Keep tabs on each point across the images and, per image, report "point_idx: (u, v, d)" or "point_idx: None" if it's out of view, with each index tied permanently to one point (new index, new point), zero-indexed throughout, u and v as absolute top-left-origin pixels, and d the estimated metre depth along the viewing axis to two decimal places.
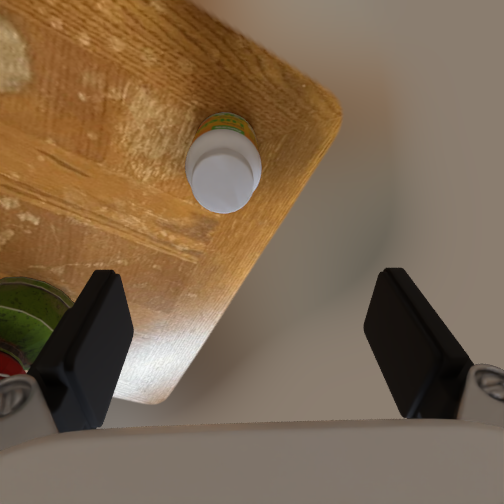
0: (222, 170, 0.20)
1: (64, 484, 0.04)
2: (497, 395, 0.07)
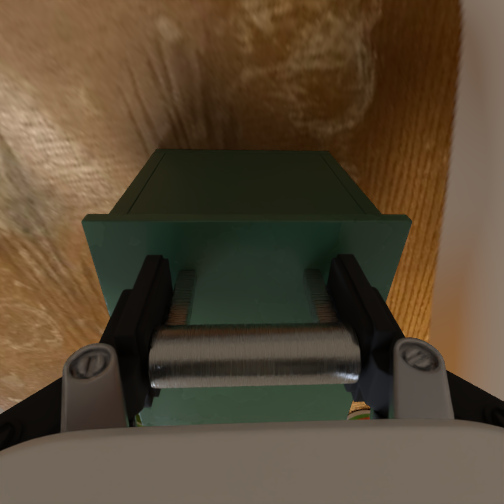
0: None
1: (64, 484, 0.04)
2: (420, 365, 0.08)
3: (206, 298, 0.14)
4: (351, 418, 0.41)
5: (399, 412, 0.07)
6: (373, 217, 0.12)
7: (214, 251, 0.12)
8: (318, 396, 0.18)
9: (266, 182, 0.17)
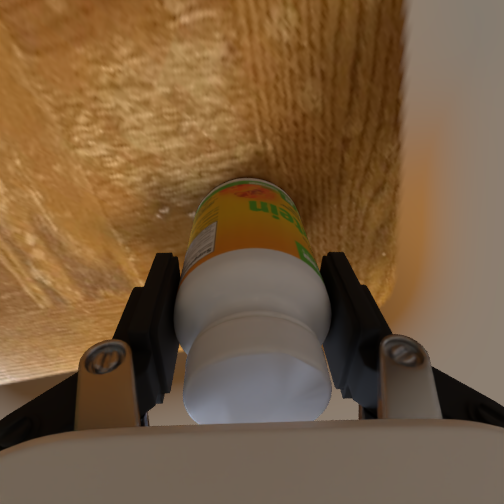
0: (288, 386, 0.08)
1: (64, 484, 0.04)
2: (406, 361, 0.08)
3: None
4: (205, 198, 0.15)
5: (382, 407, 0.07)
6: None
7: None
8: None
9: None
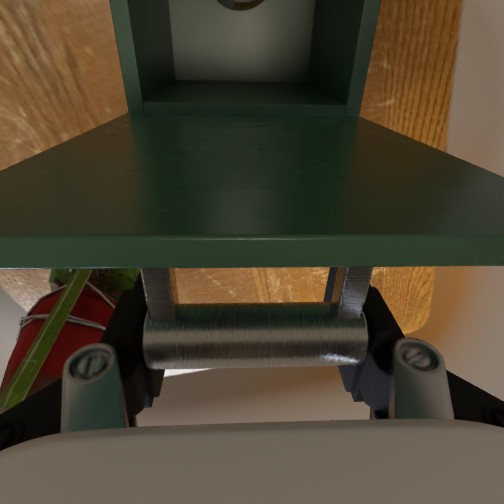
0: None
1: (64, 484, 0.04)
2: (420, 365, 0.08)
3: None
4: None
5: (399, 412, 0.07)
6: None
7: None
8: None
9: None
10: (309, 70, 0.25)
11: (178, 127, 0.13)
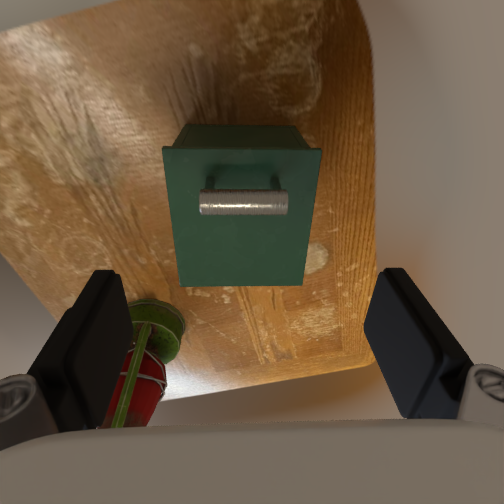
0: None
1: (64, 484, 0.04)
2: (496, 395, 0.07)
3: None
4: None
5: None
6: (303, 148, 0.25)
7: (224, 166, 0.25)
8: (283, 265, 0.31)
9: (253, 139, 0.30)
10: None
11: None
